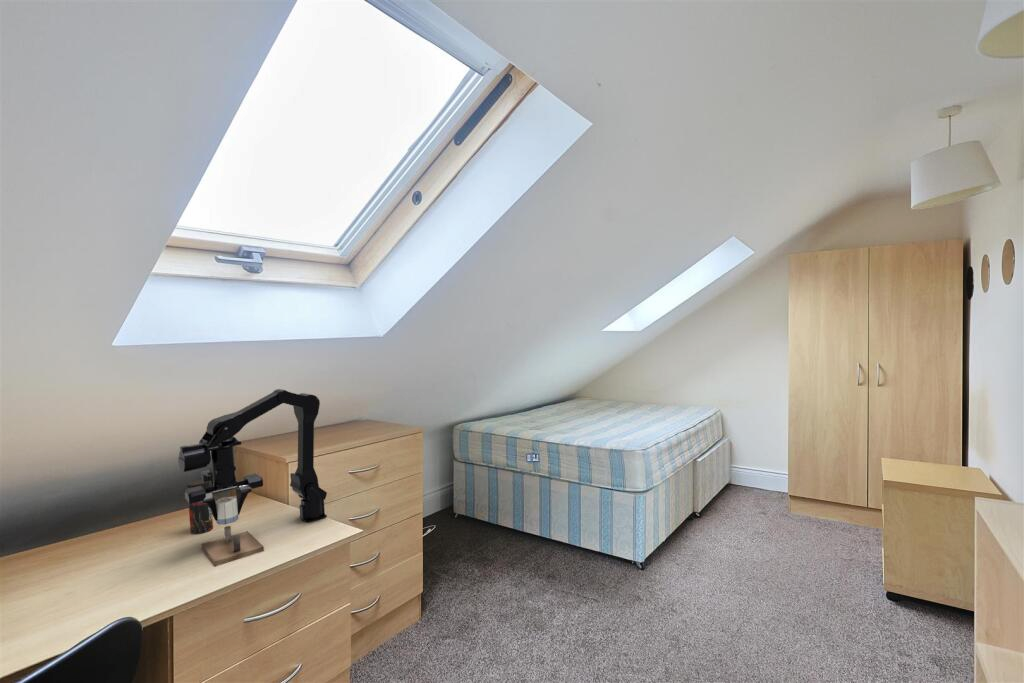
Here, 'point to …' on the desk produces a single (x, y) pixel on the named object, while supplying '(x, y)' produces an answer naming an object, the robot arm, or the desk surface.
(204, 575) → the desk surface
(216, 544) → the pin board
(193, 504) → the deodorant
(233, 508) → the sleeve
